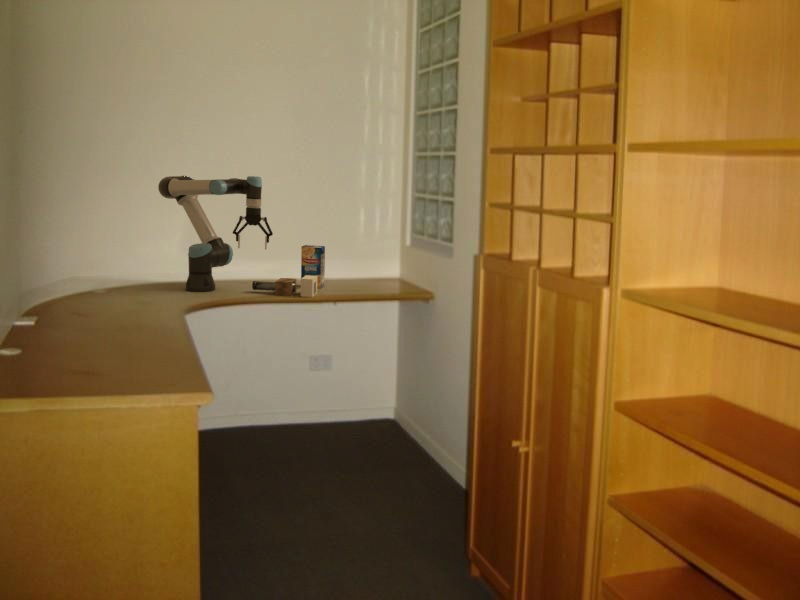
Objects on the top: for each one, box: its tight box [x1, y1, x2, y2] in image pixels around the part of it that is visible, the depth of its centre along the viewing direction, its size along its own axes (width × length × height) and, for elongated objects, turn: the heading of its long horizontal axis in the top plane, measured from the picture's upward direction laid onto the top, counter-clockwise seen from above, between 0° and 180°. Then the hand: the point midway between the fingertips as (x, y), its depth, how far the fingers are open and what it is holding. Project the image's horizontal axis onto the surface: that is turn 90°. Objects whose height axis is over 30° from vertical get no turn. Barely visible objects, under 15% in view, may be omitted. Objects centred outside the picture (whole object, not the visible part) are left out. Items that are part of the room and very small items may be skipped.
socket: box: [300, 275, 318, 298], centre depth 465 cm, size 6×12×9 cm, turn 174°
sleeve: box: [274, 277, 297, 297], centre depth 466 cm, size 8×12×7 cm, turn 174°
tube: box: [251, 280, 298, 293], centre depth 467 cm, size 22×4×4 cm, turn 84°
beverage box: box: [300, 244, 326, 290], centre depth 487 cm, size 7×11×22 cm, turn 77°
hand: (252, 248), depth 468 cm, fingers open, 13 cm apart
